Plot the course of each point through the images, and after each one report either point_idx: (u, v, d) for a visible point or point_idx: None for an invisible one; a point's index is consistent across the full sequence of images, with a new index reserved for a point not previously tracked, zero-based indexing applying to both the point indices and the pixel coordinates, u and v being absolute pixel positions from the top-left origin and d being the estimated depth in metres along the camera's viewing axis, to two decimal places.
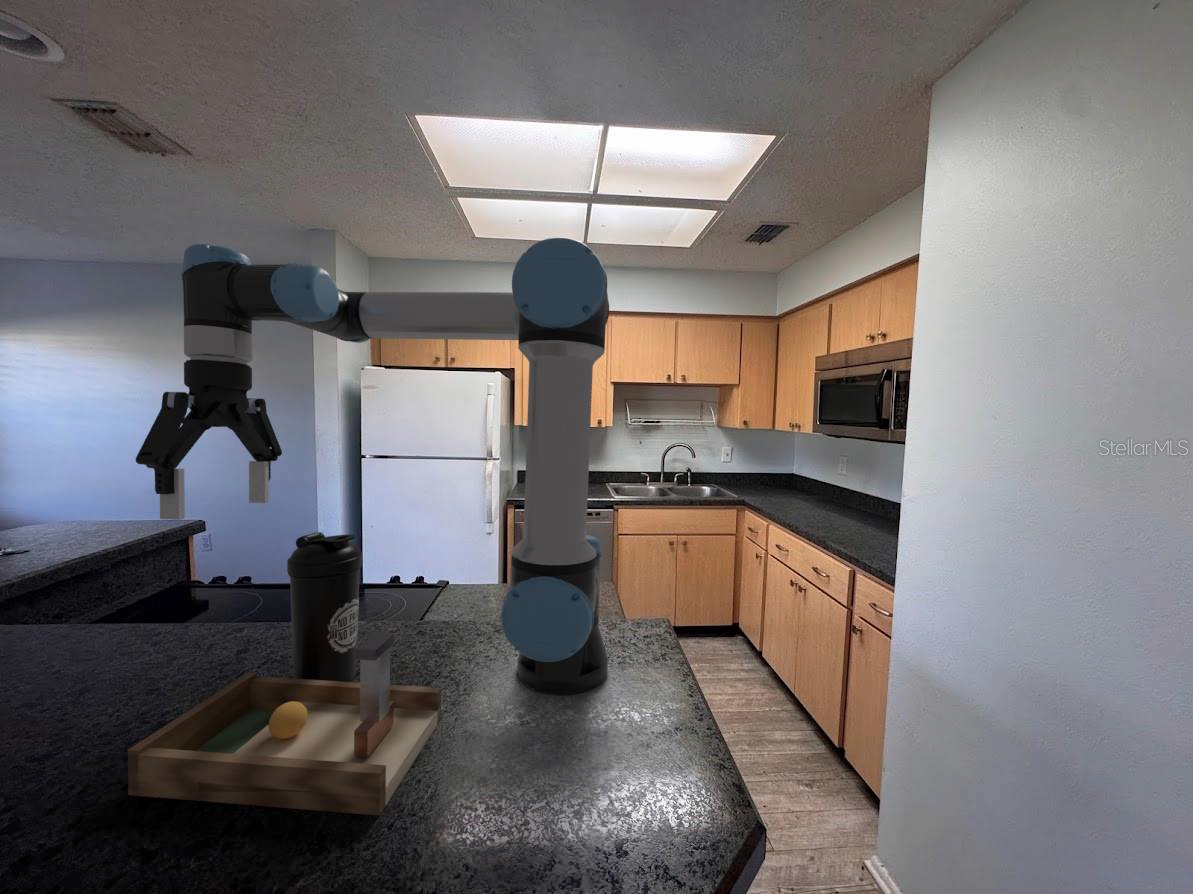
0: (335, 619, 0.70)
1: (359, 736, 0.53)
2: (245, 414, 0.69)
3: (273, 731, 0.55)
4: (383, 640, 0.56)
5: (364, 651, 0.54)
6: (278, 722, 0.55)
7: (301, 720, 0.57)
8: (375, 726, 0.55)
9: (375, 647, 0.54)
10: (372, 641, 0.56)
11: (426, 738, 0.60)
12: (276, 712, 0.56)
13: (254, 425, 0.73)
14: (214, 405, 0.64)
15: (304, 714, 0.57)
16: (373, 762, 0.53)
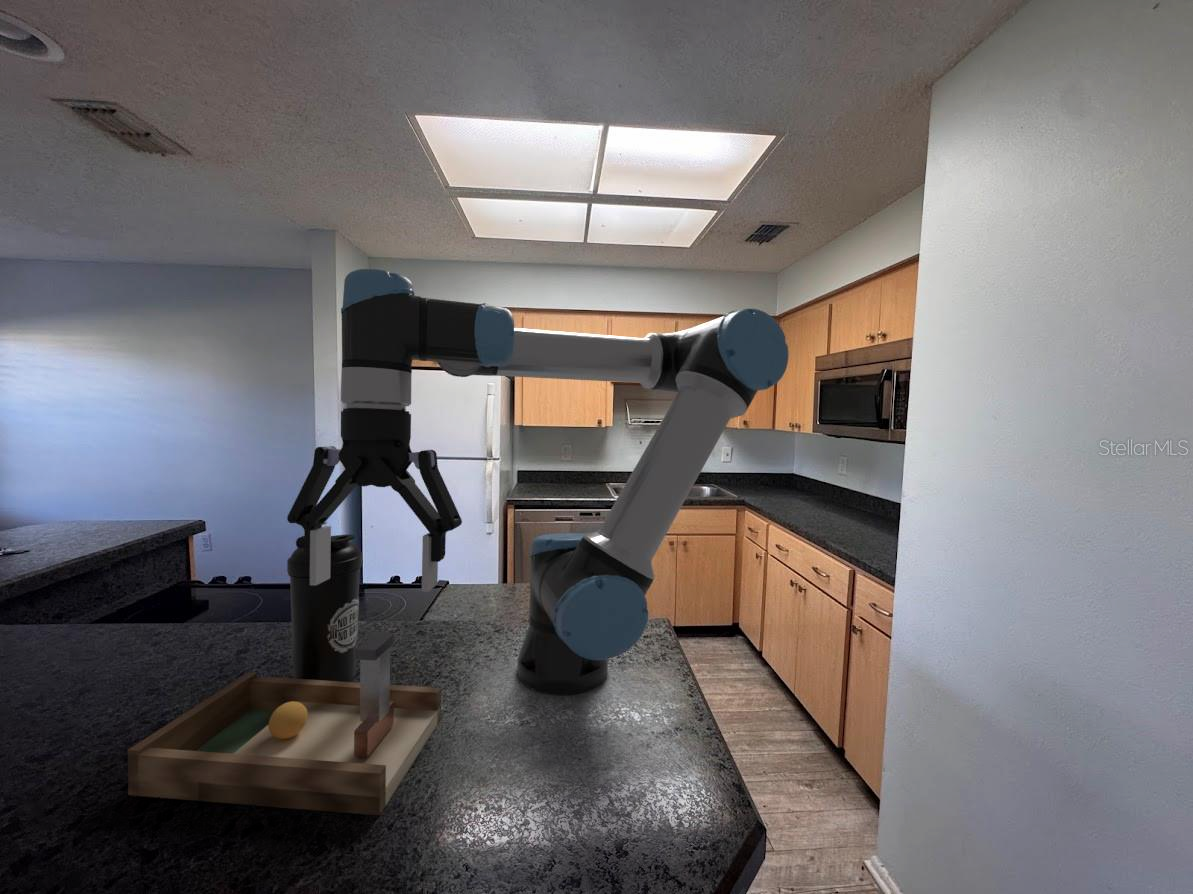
0: (335, 619, 0.70)
1: (359, 736, 0.53)
2: (389, 472, 0.53)
3: (273, 731, 0.55)
4: (383, 640, 0.56)
5: (364, 651, 0.54)
6: (278, 722, 0.55)
7: (301, 720, 0.57)
8: (375, 726, 0.55)
9: (375, 647, 0.54)
10: (372, 641, 0.56)
11: (426, 738, 0.60)
12: (276, 712, 0.56)
13: None
14: None
15: (304, 714, 0.57)
16: (373, 762, 0.53)
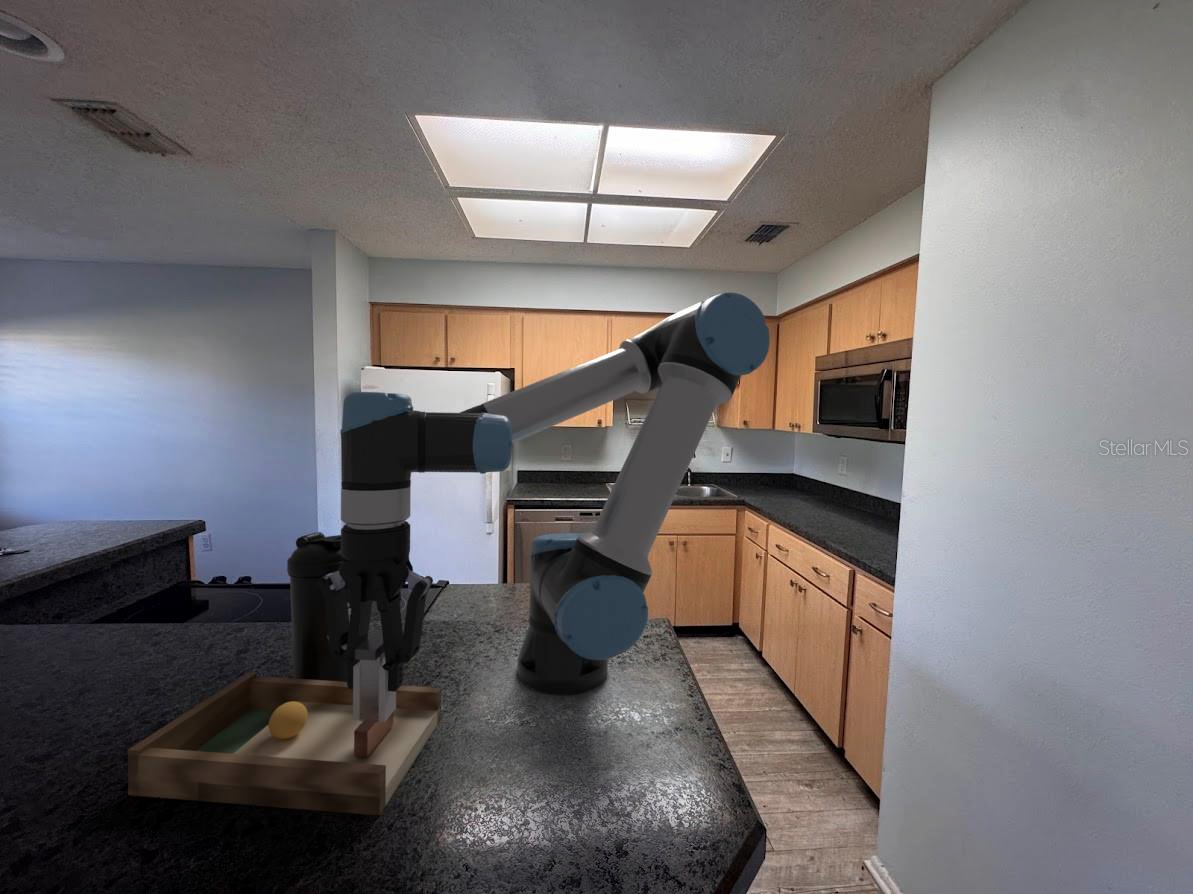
0: None
1: (359, 736, 0.53)
2: (383, 593, 0.54)
3: (273, 731, 0.55)
4: None
5: (364, 651, 0.54)
6: (278, 722, 0.55)
7: (301, 720, 0.57)
8: (375, 726, 0.55)
9: (375, 647, 0.54)
10: (372, 641, 0.56)
11: (426, 738, 0.60)
12: (276, 712, 0.56)
13: None
14: None
15: (304, 714, 0.57)
16: (373, 762, 0.53)
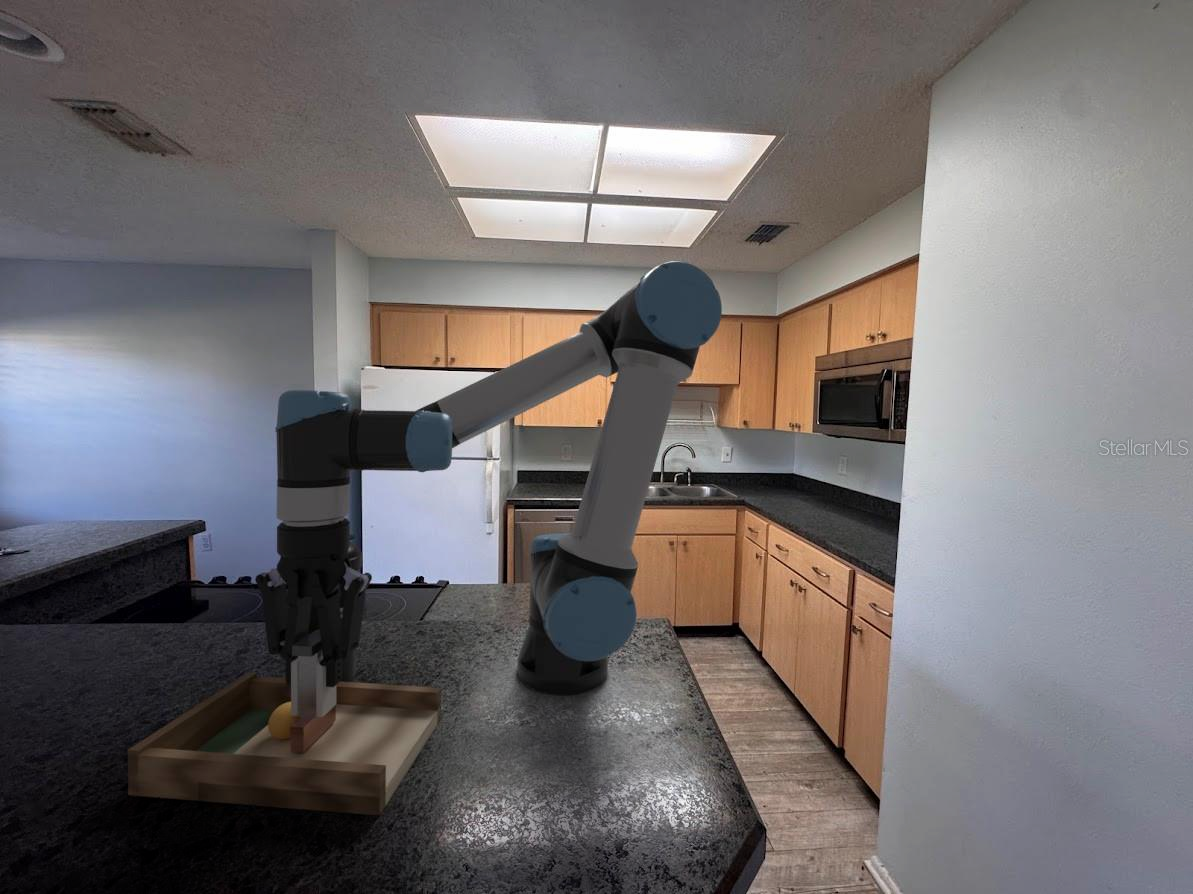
0: None
1: (295, 731, 0.54)
2: (319, 589, 0.54)
3: (272, 731, 0.55)
4: None
5: (301, 647, 0.54)
6: (278, 722, 0.55)
7: None
8: (312, 722, 0.55)
9: (312, 644, 0.55)
10: (311, 637, 0.56)
11: (426, 738, 0.60)
12: (275, 712, 0.56)
13: None
14: None
15: None
16: (373, 762, 0.53)
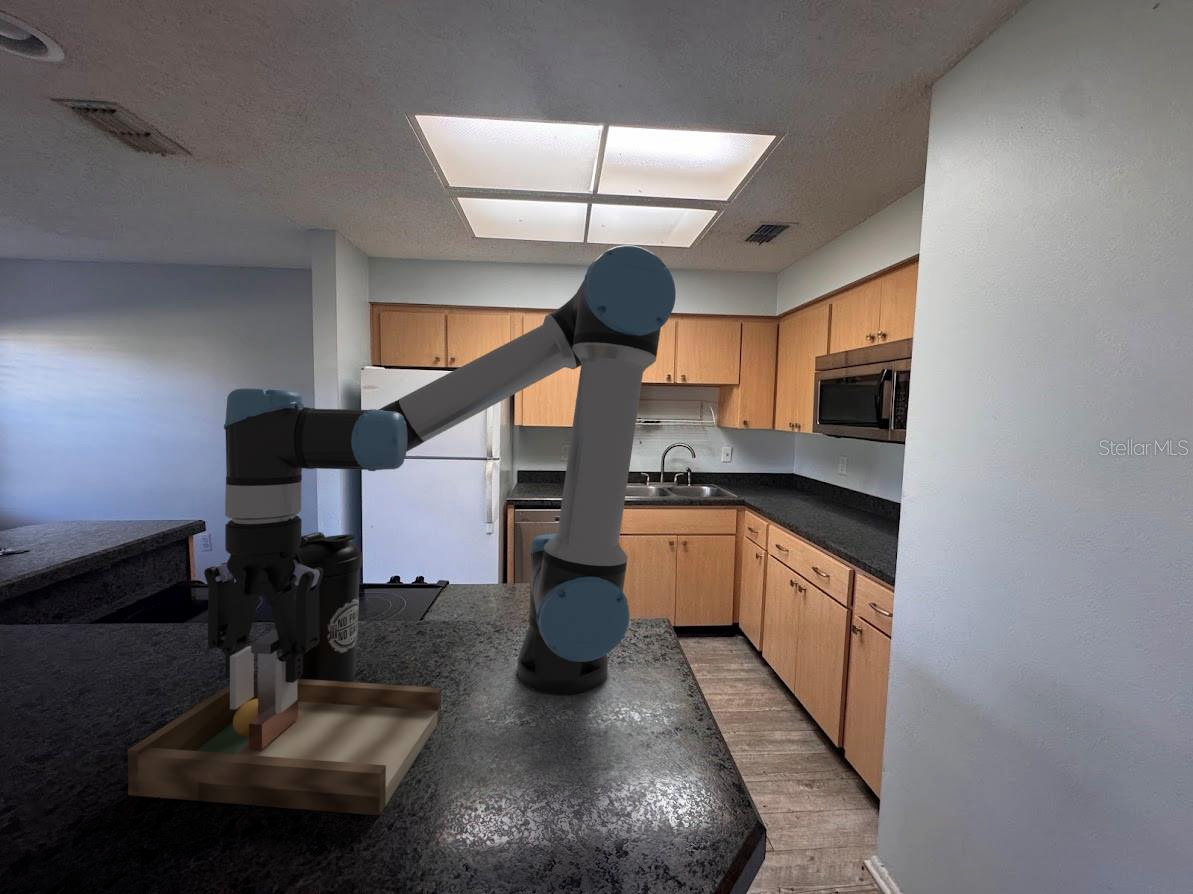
0: (335, 619, 0.70)
1: (254, 728, 0.54)
2: (269, 586, 0.55)
3: (243, 730, 0.55)
4: None
5: (260, 645, 0.55)
6: (234, 726, 0.56)
7: (245, 703, 0.57)
8: (272, 719, 0.56)
9: (271, 641, 0.55)
10: (272, 635, 0.57)
11: (426, 738, 0.60)
12: None
13: None
14: None
15: (246, 702, 0.57)
16: (373, 762, 0.53)
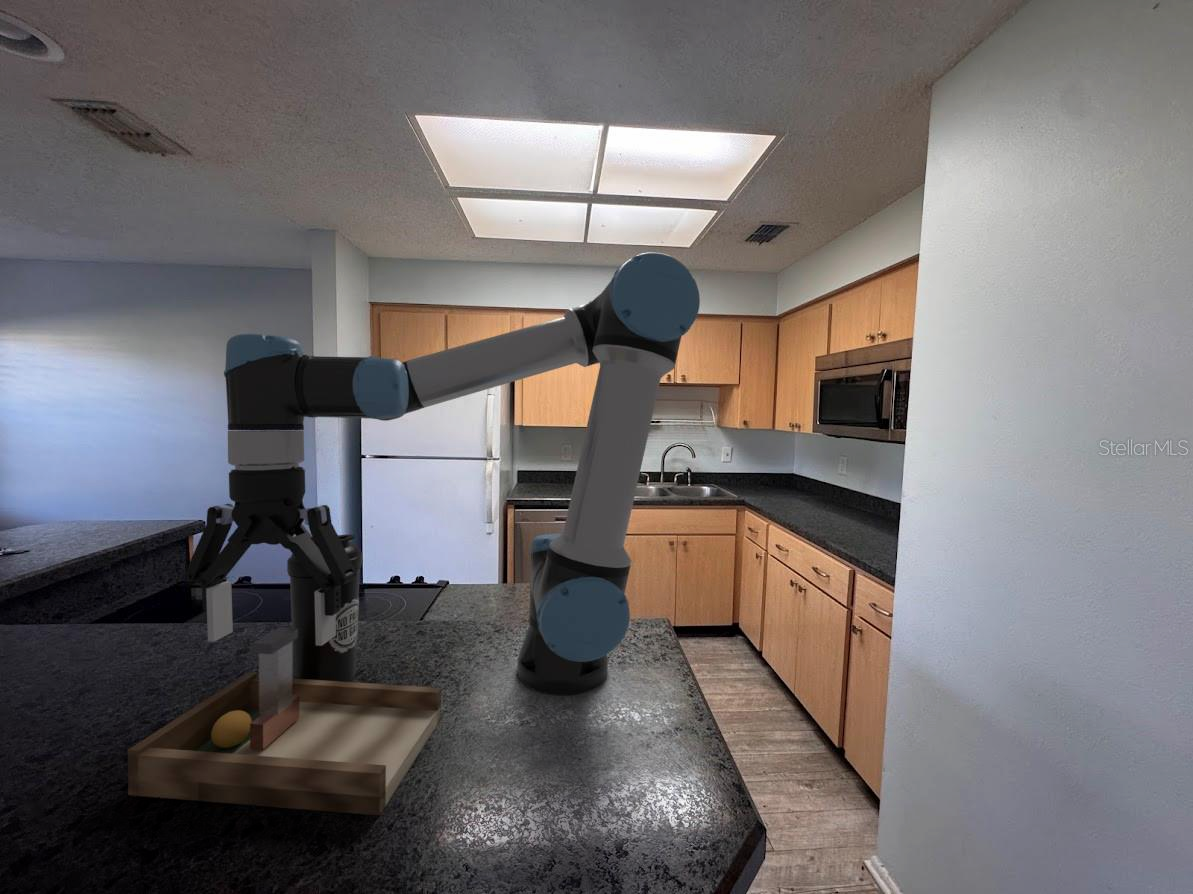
0: None
1: (255, 728, 0.54)
2: (279, 530, 0.54)
3: (220, 734, 0.56)
4: (284, 634, 0.57)
5: (261, 645, 0.55)
6: (221, 744, 0.56)
7: None
8: (273, 719, 0.56)
9: (272, 641, 0.55)
10: (273, 635, 0.57)
11: (426, 738, 0.60)
12: (235, 742, 0.57)
13: None
14: None
15: None
16: (373, 762, 0.53)
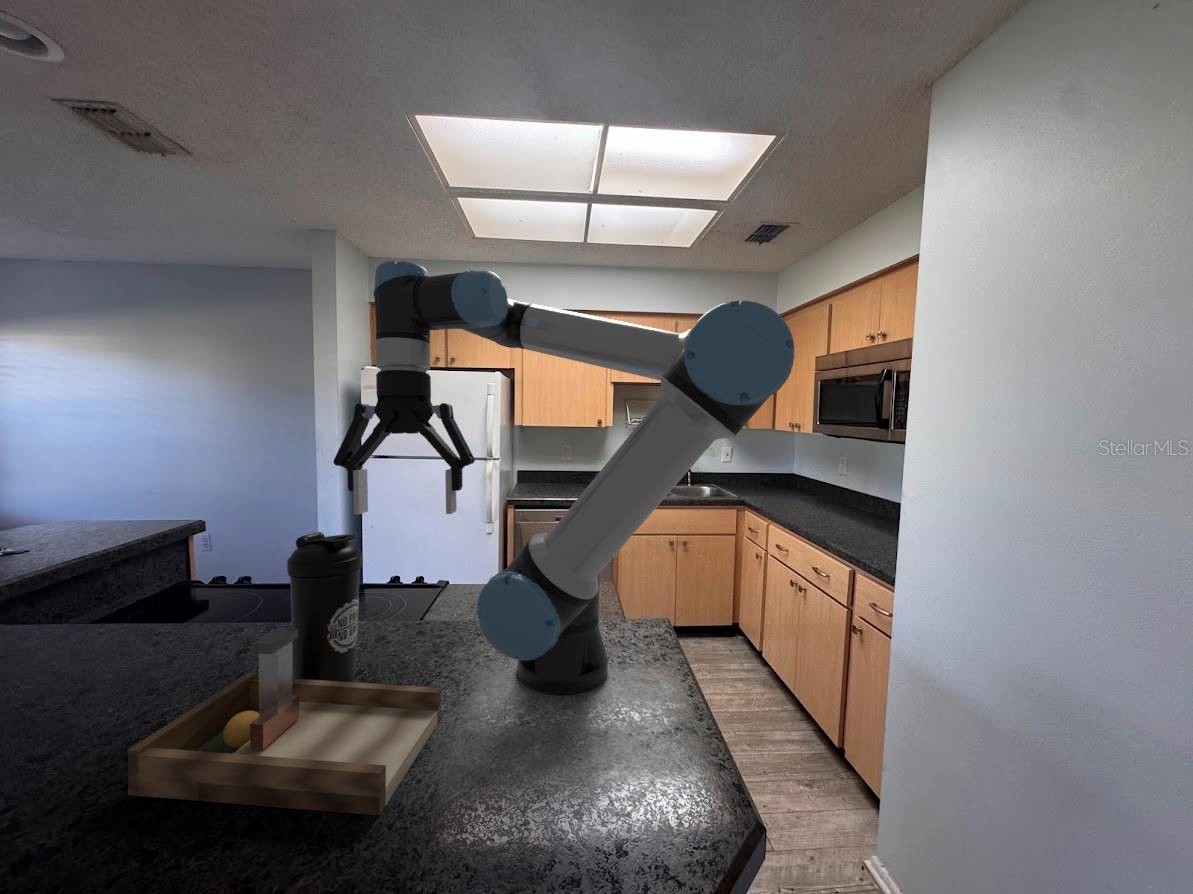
0: (335, 619, 0.70)
1: (255, 728, 0.54)
2: (417, 420, 0.68)
3: (235, 737, 0.56)
4: (284, 634, 0.57)
5: (261, 645, 0.55)
6: (228, 744, 0.56)
7: None
8: (273, 719, 0.56)
9: (272, 641, 0.55)
10: (273, 635, 0.57)
11: (426, 738, 0.60)
12: (239, 747, 0.57)
13: None
14: None
15: None
16: (373, 762, 0.53)
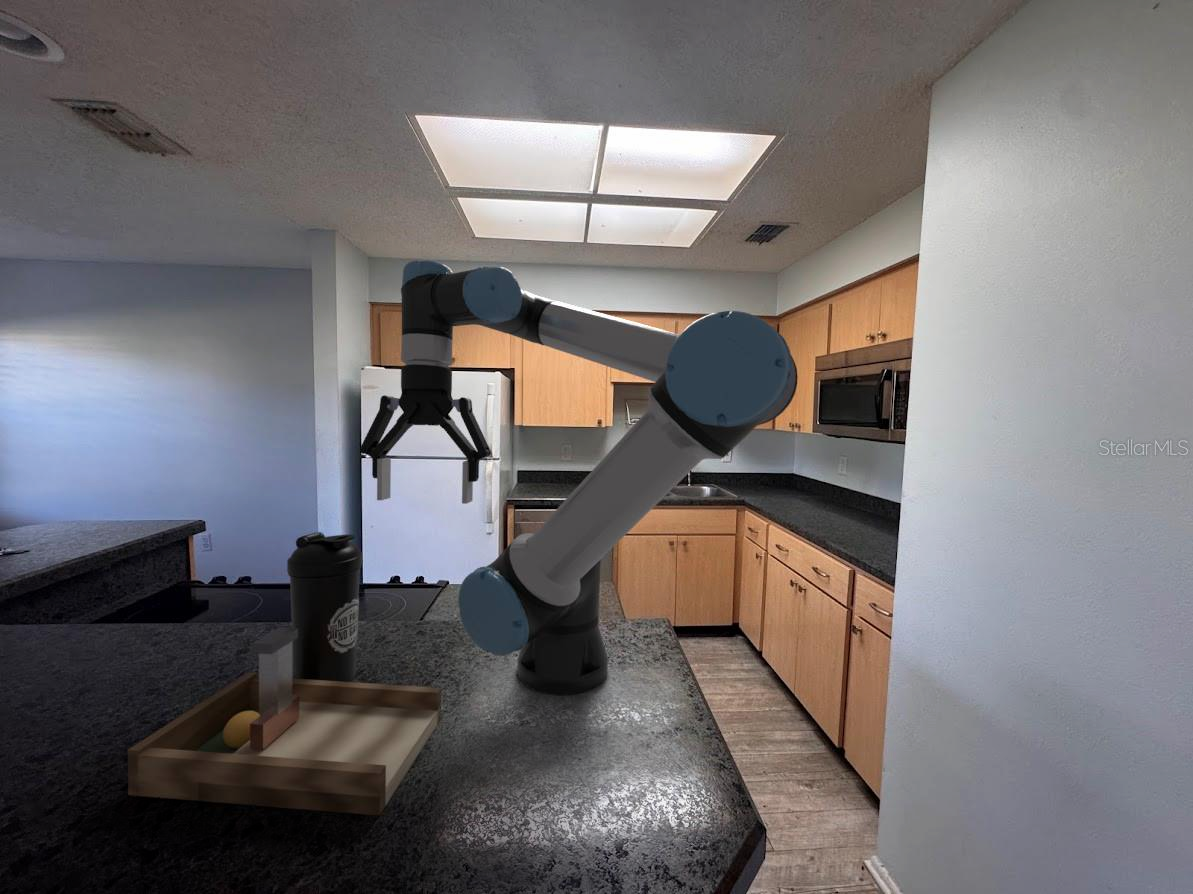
0: (335, 619, 0.70)
1: (255, 728, 0.54)
2: (437, 413, 0.71)
3: (235, 737, 0.56)
4: (284, 634, 0.57)
5: (261, 645, 0.55)
6: (228, 744, 0.56)
7: None
8: (273, 719, 0.56)
9: (272, 641, 0.55)
10: (273, 635, 0.57)
11: (426, 738, 0.60)
12: (239, 747, 0.57)
13: None
14: None
15: None
16: (373, 762, 0.53)
